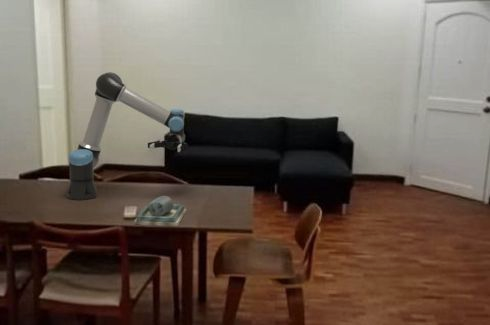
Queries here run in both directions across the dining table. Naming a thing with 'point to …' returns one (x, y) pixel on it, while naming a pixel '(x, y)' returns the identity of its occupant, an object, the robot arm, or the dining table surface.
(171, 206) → the spool
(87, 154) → the robot arm
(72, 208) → the dining table surface
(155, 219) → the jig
